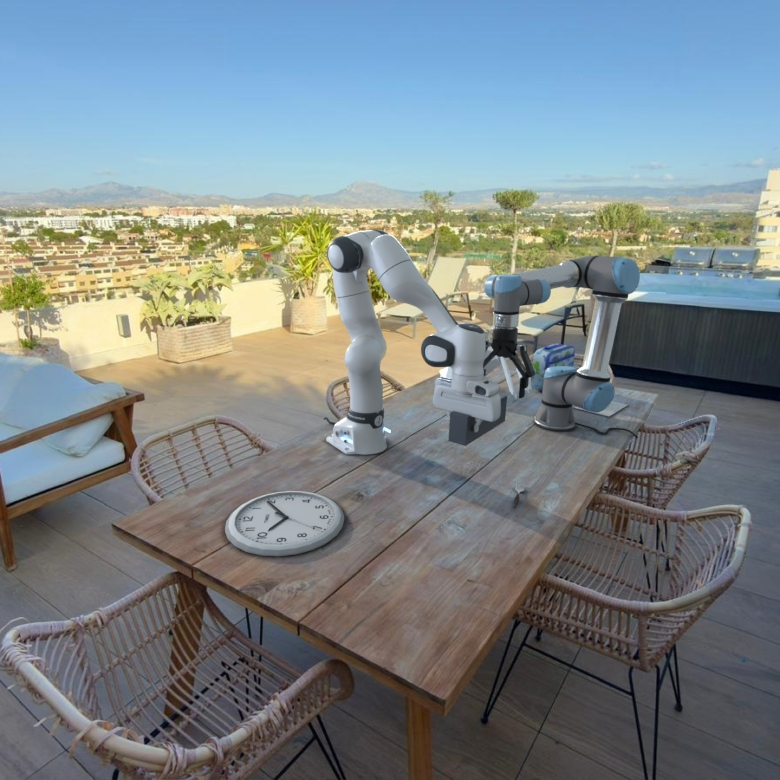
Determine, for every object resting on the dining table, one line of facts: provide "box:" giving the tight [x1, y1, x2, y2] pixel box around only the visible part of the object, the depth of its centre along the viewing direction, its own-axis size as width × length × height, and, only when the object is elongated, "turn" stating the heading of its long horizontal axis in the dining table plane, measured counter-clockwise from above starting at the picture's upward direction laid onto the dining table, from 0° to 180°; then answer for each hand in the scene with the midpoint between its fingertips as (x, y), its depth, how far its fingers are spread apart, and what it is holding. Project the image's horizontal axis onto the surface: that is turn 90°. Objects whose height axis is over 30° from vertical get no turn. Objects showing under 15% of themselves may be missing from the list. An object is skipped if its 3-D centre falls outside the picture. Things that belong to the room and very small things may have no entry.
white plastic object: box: [438, 311, 531, 400], centre depth 245 cm, size 37×45×31 cm
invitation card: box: [573, 400, 629, 418], centre depth 226 cm, size 21×1×15 cm
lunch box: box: [530, 343, 576, 391], centre depth 249 cm, size 26×11×21 cm, turn 134°
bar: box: [447, 392, 508, 447], centre depth 157 cm, size 26×6×9 cm, turn 143°
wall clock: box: [224, 490, 345, 557], centre depth 134 cm, size 30×2×30 cm
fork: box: [513, 478, 526, 510], centre depth 148 cm, size 3×16×2 cm, turn 160°
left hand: (463, 428), depth 150 cm, fingers closed on bar, 5 cm apart
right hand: (501, 393), depth 165 cm, fingers open, 13 cm apart
